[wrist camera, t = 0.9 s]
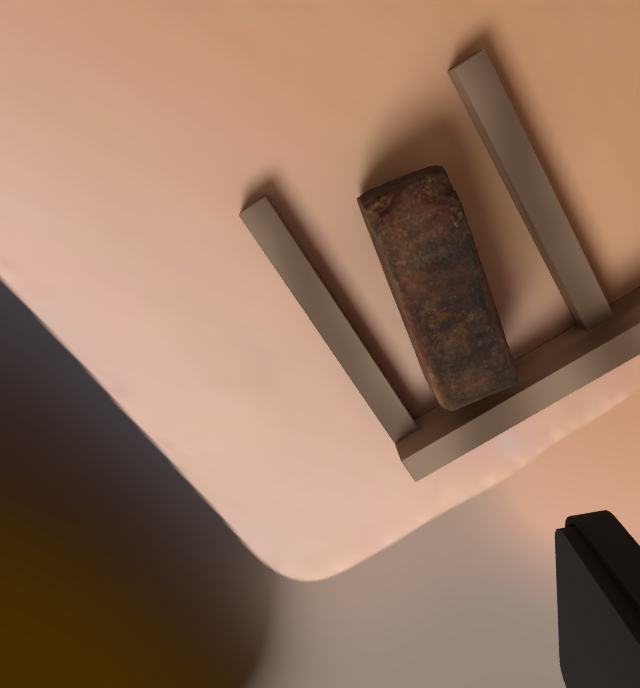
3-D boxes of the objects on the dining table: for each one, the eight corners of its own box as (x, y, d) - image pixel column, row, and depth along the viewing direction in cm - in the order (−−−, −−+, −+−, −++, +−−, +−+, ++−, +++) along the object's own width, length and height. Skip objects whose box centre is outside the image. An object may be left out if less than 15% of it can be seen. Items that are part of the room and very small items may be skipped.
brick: (492, 351, 32) (525, 385, 27) (423, 379, 32) (445, 417, 27) (428, 162, 28) (454, 165, 24) (352, 195, 28) (364, 204, 24)
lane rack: (713, -108, 25) (767, -140, 22) (818, 212, 30) (874, 220, 27) (240, 212, 28) (235, 219, 25) (404, 452, 33) (415, 482, 30)
